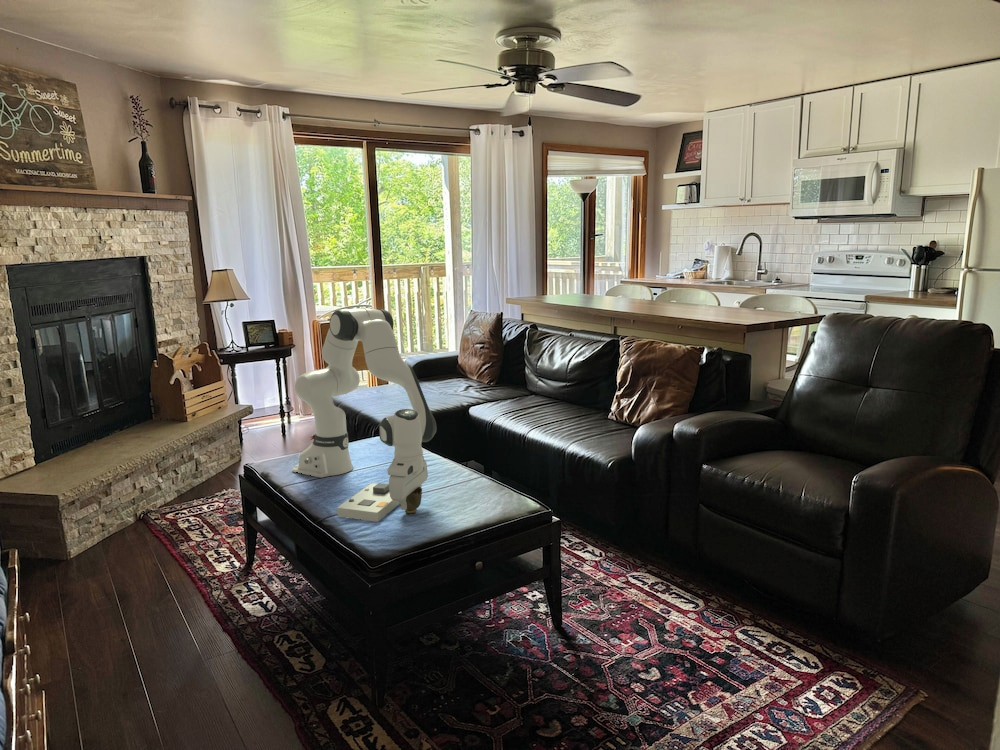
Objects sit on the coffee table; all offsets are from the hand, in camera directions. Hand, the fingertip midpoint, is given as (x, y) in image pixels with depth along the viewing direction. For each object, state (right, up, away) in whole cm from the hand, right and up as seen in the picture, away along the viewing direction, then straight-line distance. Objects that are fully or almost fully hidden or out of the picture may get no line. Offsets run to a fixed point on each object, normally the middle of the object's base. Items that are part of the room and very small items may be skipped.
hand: (410, 503), depth 207 cm
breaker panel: (-13, -2, +7) cm, 14 cm away
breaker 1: (-14, -3, +2) cm, 15 cm away
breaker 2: (-11, +1, +11) cm, 16 cm away
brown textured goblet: (0, -3, +1) cm, 3 cm away
